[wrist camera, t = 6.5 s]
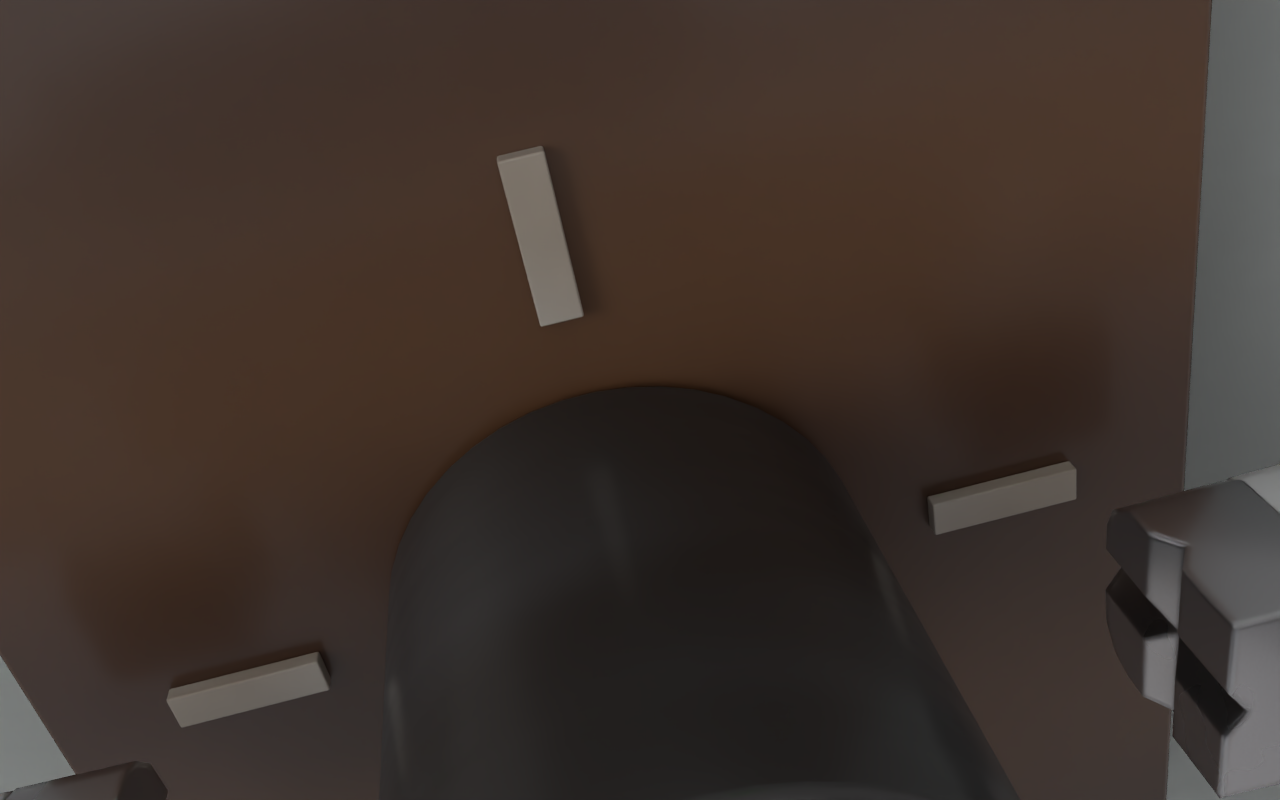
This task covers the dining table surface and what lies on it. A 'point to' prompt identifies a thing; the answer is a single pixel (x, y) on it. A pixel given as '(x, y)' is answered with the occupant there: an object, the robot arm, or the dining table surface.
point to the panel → (573, 327)
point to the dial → (661, 622)
